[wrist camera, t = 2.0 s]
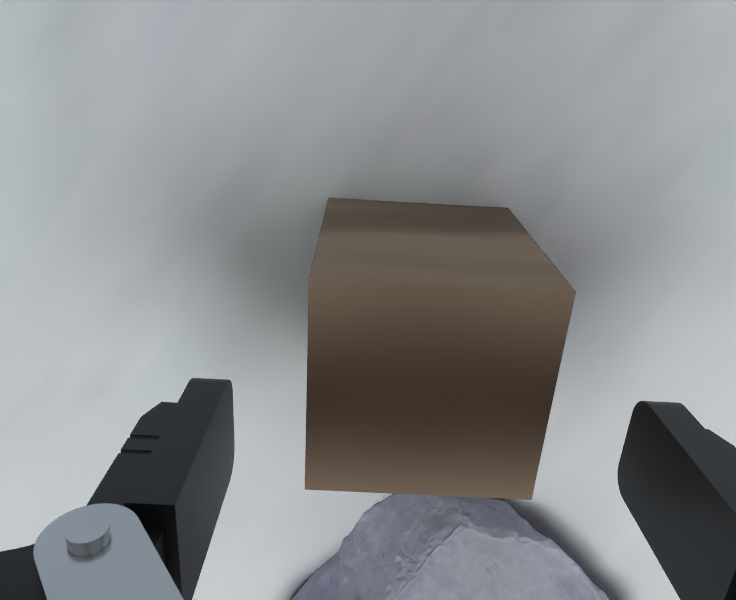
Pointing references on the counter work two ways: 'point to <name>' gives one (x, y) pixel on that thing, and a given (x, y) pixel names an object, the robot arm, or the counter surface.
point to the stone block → (447, 556)
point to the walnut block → (430, 350)
